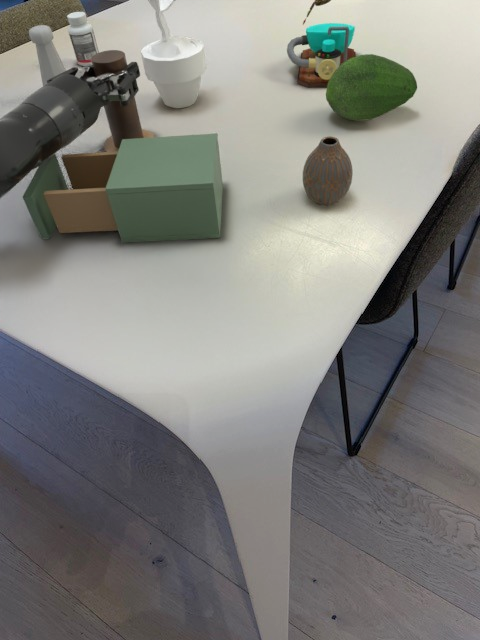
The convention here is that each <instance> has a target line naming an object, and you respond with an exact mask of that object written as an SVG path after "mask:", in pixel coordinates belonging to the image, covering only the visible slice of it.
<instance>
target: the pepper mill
mask: <svg viewBox="0 0 480 640" xmlns="http://www.w3.org/2000/svg"><path fill="white" fill-rule="evenodd" d="M91 61H92V65H93V68H94V72H95V76H96V77H98V76H100V75H103V74H105V73H107V72H110V73H113V74H114V73H117V72H119V71H121V70H122V69H123V68H124V67H126V66H127V65H128V62H127V57H126V53H125V52H124V51H122V50H118V49H109V50H103V51H99V53H97V54H95V55H93V56H92V58H91ZM107 82H108V85H109V81H108V80H107ZM117 83H118V84H120V83H121V79H118V80H117ZM109 88H110V85H109ZM110 92H111V89H110ZM135 97H136V96H134V98H133V99H132V101H131V102H130V104H129V105H127V106H121V103H120V101H111V102H110V104H108V105H105V106H103V108H104V112H105V117H106V119H107V123H108V128H109V130H110V134H111V136H112V138H113V142H114V145H115V147H116V148H118V149H119V147H120V144H121V142H122V139H135V138H144V137H143V132H142V130H143V129H142V123H141V120H140V115H139V109H138V106H137V101H136V98H135Z"/></svg>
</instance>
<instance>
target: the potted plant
mask: <svg viewBox="0 0 480 640" xmlns="http://www.w3.org/2000/svg"><path fill="white" fill-rule="evenodd" d="M147 1H148V3H149V4H150V6H151V7H152V9H153V10H154V12H155V20H156V23H157V26H158V28H159V30H160V32H161V39H158V40H155V41H153V42H150V43H148V44H146V45H145V46H144V47H143V48H142V49H141V50H140V55H141V60H142V65H143V70H144V74H145V76H146V78H147V80H148V81H151V82H153V84H154V87H155V88H156V90H157V92H158V93H159V95H160V97H161V99H162V101H163V103H164V105H165V106H167V107H170V108H172V109H184V108H188V107H190V106H192V105H193V104H195V103H196V102H197V100H198V98H199V97H198V96H199V92H200V87H201V81H202V76H203V75H204V74H205V72H206V70H207V68H208V67H207V58H206V49H205V45H204V43H203V42H202V41H201V40H200V39H198V38H197V39H196V38H192V37H187V36H177V35H172V34H171V31H170V30H171V29H170V28H169V24H168V22H167V19H166V17H165V14H164V12H166V11H168V10H169V9H170V8H171V7H172V5H173V4H174V3H175V2H176V1H177V0H147Z"/></svg>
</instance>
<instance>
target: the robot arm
mask: <svg viewBox="0 0 480 640" xmlns="http://www.w3.org/2000/svg"><path fill="white" fill-rule="evenodd" d="M139 77H141V72H140V67H139V65H138V62H137V61H130V62H129V63H127V66H126V67H124V68H123V69H122V70H121V71H119V72H117V73H114V74H113V73H110V72H107V73H105V74H103V75H100V76H98V77H96V76H95V72H94V68H93V65H90V66H82V68H81V69H80V70H79V68H78V67H76V66H74V67H70V68H69V69H66V71H65V72H63V73H61V74H59V75H57V76H55V77H53V78H51V79H49V80H47V84H46V85H44V86H43V85H42V86H41V87H40V88H39V89H37V90H35V91H34V92H32V93H31V94H30V95H28V96H27V97H26V98H25V99H24V100H23V101H22V103H20V104H19V105H18V106H16V107H15V108H13V109H11V111H9V112H8V113H6V114H4V115H3V116H2V117H1V118H0V200H1V199H2V198H4V196H7V194H9V192H10V191H11V190H12V189H14V188H15V187H16V186H17V185H18V184H20V183H21V181H22V180H23V179H24V178H25V177H26V176H28V174H30V172H32V171H33V170H35V169H38V167H39V166H40V165H41V164H43V163H44V162H45V161H47V160H48V159H49V158H50V157H51V156H53V155H54V154H55V155H56V153H58V152H59V151H61V150H62V149H64V148H67V146H70V144H72V143H73V142H74V141H75V140H76V139H77V138H79V137H80V136H81V135H83V134H84V133H85V132H86V131H87V130H88V129H89V128H90V127H92V126H93V125H94V124H95V123H96V122H97V120H98V118H99V115H100V113H101V112H100V111H101V109H102V108H104V106H105V105H108V104H110V102H111V101H120V103H121V106H127V105H129V104H130V102H131V101H132V99H133V98H134V97H136V96H137V94H138V92H139V90H140V89H139V86H138V82H137V79H138V78H139ZM118 79H121V83H120V84H118V83H117V80H118ZM107 80H108V81H109V85H110V88H109V85H108V82H107ZM110 89H111V92H110Z"/></svg>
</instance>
